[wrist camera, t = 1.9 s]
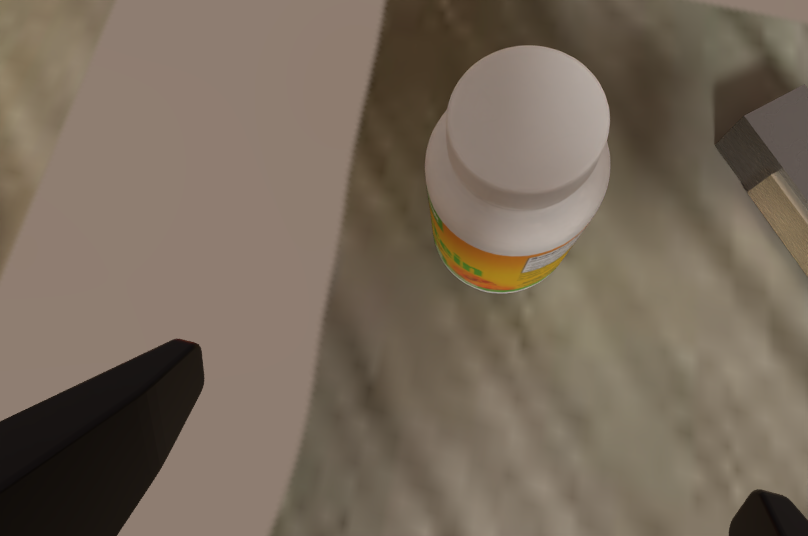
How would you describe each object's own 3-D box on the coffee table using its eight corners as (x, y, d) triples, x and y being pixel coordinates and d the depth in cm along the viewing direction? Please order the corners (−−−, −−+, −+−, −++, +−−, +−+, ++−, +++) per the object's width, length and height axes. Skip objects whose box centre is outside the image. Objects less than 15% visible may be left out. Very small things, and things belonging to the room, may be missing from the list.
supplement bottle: (407, 214, 24) (375, 94, 15) (514, 143, 24) (549, -20, 15) (483, 322, 23) (500, 265, 14) (596, 246, 23) (689, 138, 14)
